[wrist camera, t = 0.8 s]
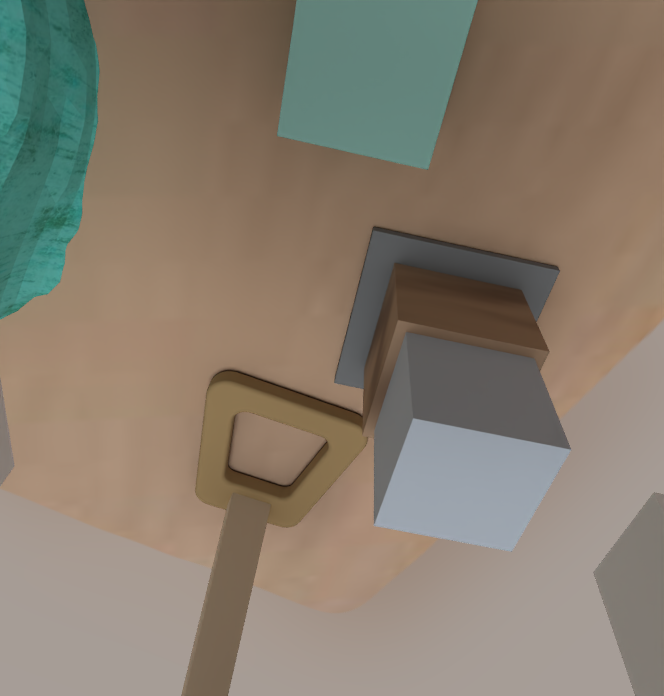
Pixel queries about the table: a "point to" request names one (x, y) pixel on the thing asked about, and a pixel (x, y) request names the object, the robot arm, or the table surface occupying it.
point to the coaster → (436, 258)
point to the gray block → (464, 443)
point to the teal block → (373, 75)
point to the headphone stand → (254, 507)
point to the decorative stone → (42, 140)
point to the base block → (444, 324)
